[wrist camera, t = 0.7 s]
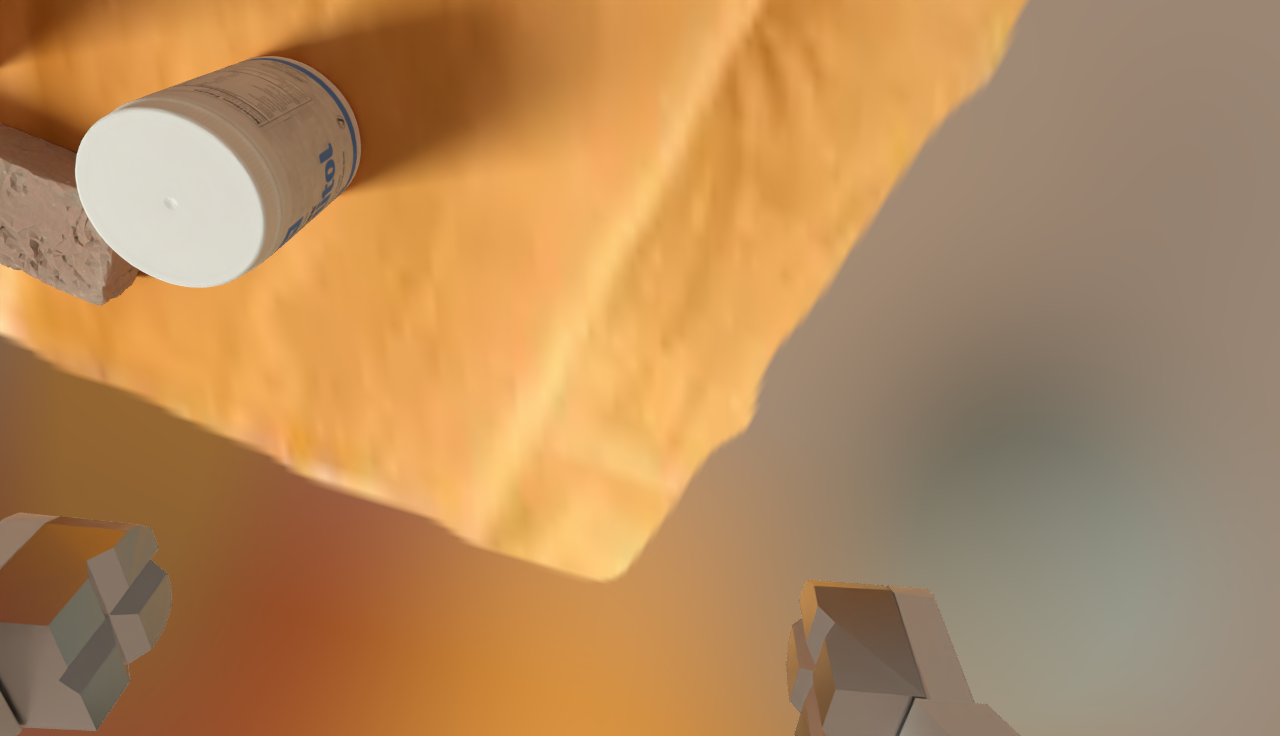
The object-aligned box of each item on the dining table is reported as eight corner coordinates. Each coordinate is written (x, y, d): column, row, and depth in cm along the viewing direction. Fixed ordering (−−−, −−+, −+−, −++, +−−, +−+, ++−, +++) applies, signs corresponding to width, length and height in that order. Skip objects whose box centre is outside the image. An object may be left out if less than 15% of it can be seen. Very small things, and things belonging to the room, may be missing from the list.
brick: (-102, 188, 55) (-163, 212, 51) (-106, 73, 51) (-172, 89, 47) (145, 282, 58) (107, 312, 54) (160, 181, 54) (120, 205, 50)
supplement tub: (356, 218, 54) (263, 317, 42) (215, 176, 53) (74, 265, 41) (374, 78, 50) (275, 142, 37) (220, 28, 48) (62, 77, 36)
